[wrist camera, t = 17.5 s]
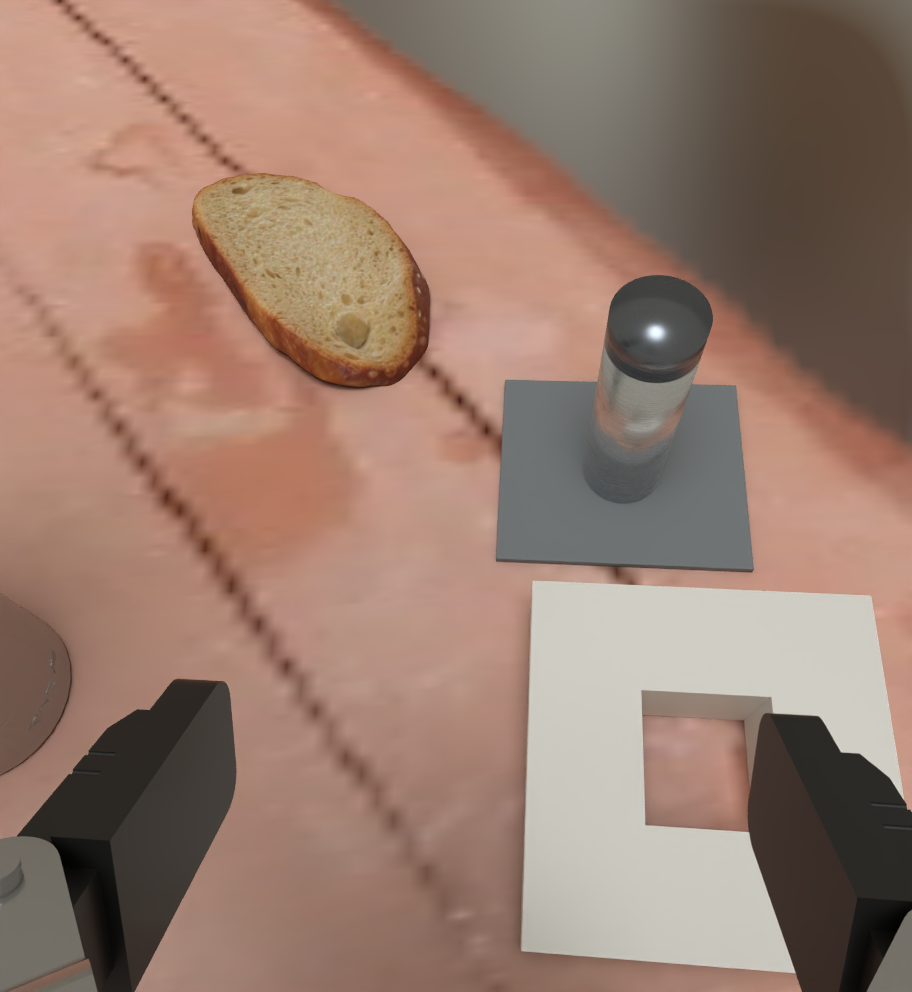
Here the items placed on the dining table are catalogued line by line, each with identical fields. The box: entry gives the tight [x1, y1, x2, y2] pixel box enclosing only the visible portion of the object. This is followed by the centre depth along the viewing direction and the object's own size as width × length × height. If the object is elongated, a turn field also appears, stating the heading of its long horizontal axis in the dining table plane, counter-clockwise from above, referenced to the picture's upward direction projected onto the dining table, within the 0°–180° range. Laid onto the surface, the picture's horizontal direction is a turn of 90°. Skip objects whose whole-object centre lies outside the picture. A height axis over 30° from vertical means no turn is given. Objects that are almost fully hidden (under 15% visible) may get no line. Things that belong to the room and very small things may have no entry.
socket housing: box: [520, 581, 904, 973], centre depth 39 cm, size 16×16×5 cm
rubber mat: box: [496, 380, 754, 572], centre depth 49 cm, size 14×12×1 cm
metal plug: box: [583, 275, 713, 504], centre depth 43 cm, size 4×4×14 cm
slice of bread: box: [192, 173, 430, 387], centre depth 56 cm, size 18×18×4 cm
